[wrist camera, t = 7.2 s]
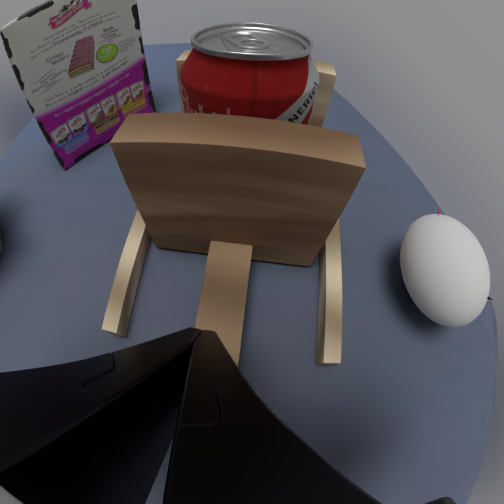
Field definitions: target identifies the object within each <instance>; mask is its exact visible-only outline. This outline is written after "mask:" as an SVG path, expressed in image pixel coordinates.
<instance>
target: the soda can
mask: <svg viewBox="0 0 504 504" xmlns="http://www.w3.org/2000/svg"><path fill="white" fill-rule="evenodd" d="M191 44H192V47H193V49H192V51H191V52H190V54H189V55H188V57H187V58H186V60H185V62H184V63H183V65H182V67H181V69H180V81H181V90H182V99H183V107H184V113H205V114H223V115H236V116H247V117H256V118H265V119H273V120H280V121H287V122H293V123H299V124H305V125H309V122H310V118H311V114H312V110H313V106H314V102H315V98H316V94H317V90H318V86H319V81H320V77H319V73H318V71H317V68H316V66H315V64H314V62H313V60H312V58H311V56H310V53H311V52H312V50H313V42H312V41H311V40H310V39H309V38H308V37H307V36H305V35H303V34H301V33H299V32H297V31H294V30H291V29H288V28H285V27H281V26H276V25H270V24H263V23H250V22H238V23H225V24H219V25H214V26H210V27H207V28H204V29H201V30H199V31H198V32H196V33H195V34H193V36H192V37H191Z"/></svg>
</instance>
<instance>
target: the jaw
mask: <svg viewBox="0 0 504 504" xmlns="http://www.w3.org/2000/svg"><path fill="white" fill-rule="evenodd" d="M110 145H111V147H112V150H113V152H114V155H115V157H116V160H117V162H118V165H119V167H120V169H121V172H122V174H123V177H124V179H125V181H126V184H127V186H128V188H129V190H130V193H131V195H132V197H133V199H134V202H135V204H136V206H137V208H138V210H139V212H140V214H141V217H142V219H143V221H144V223H145V225H146V227H147V229H148V231H149V233H150V235H151V237H152V239H153V241H154V243H155V245H156V247H158V248H166V249H173V250H181V251H189V252H197V253H204V254H208V258H207V263H206V268H205V273H204V278H203V284H202V289H201V295H200V300H199V306H198V312H197V318H196V324H195V328H198V329H201V330H202V331H203V330H211V331H215V332H216V333H217V335H218V336H219V338H220V340H221V341H222V343H223V345H224V346H225V348H226V349H227V351H228V353H229V354H230V356H231V357H232V359H233V361H234V362H235V364H236V365H237V367H238V362H239V354H240V346H241V337H242V329H243V321H244V313H245V304H246V296H247V288H248V280H249V271H250V263H251V259H252V260H260V261H268V262H277V263H285V264H293V265H301V266H311V264H312V263H313V261H314V259H315V258H316V256H317V254H318V253H319V251H320V249H321V248H322V246H323V244H324V243H325V241H326V239H327V237H328V236H329V234H330V232H331V231H332V229H333V227H334V225H335V224H336V222H337V220H338V218H339V217H340V215H341V213H342V211H343V210H344V208H345V206H346V204H347V202H348V201H349V199H350V197H351V195H352V193H353V191H354V190H355V188H356V186H357V184H358V182H359V180H360V178H361V177H362V175H363V173H364V171H365V169H366V166H365V161H364V157H363V153H362V149H361V145H360V141H359V137H358V136H357V135H353V134H349V133H345V132H340V131H336V130H331V129H326V128H321V127H316V126H311V125H305V124H299V123H293V122H287V121H280V120H273V119H265V118H256V117H247V116H236V115H223V114H205V113H138V114H129V115H128V116H127V117H126V119H125V120H124V122H123V123H122V125H121V126H120V128H119V129H118V131H117V132H116V134H115V135H114V137H113V138H112V140H111V141H110Z"/></svg>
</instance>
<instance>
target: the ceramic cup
mask: <svg viewBox="0 0 504 504" xmlns="http://www.w3.org/2000/svg"><path fill="white" fill-rule="evenodd" d="M2 249H3V243H2V236H1V229H0V255H1V252H2Z"/></svg>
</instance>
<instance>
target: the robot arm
mask: <svg viewBox="0 0 504 504" xmlns="http://www.w3.org/2000/svg"><path fill="white" fill-rule="evenodd" d="M173 436H174V438H173ZM172 439H173V444H172V449H171V455H170V461H169V466H168V472H167V478H166V485H165V491H164V497H163V504H381V503H380V502H378V501H377V500H376V499H374V498H373V497H371V496H370V495H369V494H367V493H366V492H365V491H363V490H362V489H361V488H359V487H358V486H357V485H355V484H354V483H353V482H351V481H350V480H349V479H347V478H346V477H345V476H344V475H342V474H341V473H340V472H339V471H337V470H336V469H335V468H334V467H333V466H331V465H330V464H329V463H328V462H327V461H325V460H324V459H323V458H322V457H321V456H320V455H318V454H317V453H316V452H315V451H314V450H313V449H312V448H310V447H309V446H308V445H307V444H306V443H305V442H304V441H303V440H302V439H300V438H299V437H298V436H297V435H296V434H295V433H294V432H293V431H292V430H291V429H290V428H289V427H288V426H287V425H286V424H284V423H283V422H282V421H281V420H280V419H279V418H278V417H277V416H276V415H275V414H274V413H273V412H272V411H271V410H270V409H269V408H268V407H267V406H266V404H265V403H264V402H263V401H262V400H261V399H260V398H259V397H258V395H257V394H256V393H255V391H254V390H253V389H252V387H251V386H250V384H249V383H248V381H247V380H246V379H245V378H244V376H243V374H242V373H241V371H240V370H239V368H238V367H237V365H236V364H235V362H234V361H233V359H232V357H231V356H230V354H229V353H228V351H227V349H226V348H225V346H224V345H223V343H222V341H221V340H220V338H219V336H218V335H217V333H216V332H215V331H211V330H203V331H202V330H201V329H198V328H192V327H189V328H186V329H184V330H181V331H178V332H175V333H172V334H169V335H166V336H163V337H160V338H157V339H154V340H151V341H147V342H144V343H141V344H138V345H135V346H132V347H128V348H125V349H122V350H119V351H115V352H112V353H107V354H103V355H100V356H96V357H92V358H88V359H85V360H80V361H75V362H70V363H64V364H59V365H53V366H47V367H40V368H33V369H26V370H19V371H11V372H2V373H0V504H145V503H146V500H147V498H148V495H149V493H150V491H151V488H152V486H153V484H154V481H155V479H156V477H157V474H158V472H159V469H160V467H161V465H162V462H163V460H164V458H165V455H166V453H167V451H168V448H169V446H170V443H171V441H172ZM426 504H456V503H455V502H454V501H453V500H452V498H450V497H443V498H439V499H436V500H434V501H431V502H428V503H426Z"/></svg>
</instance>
